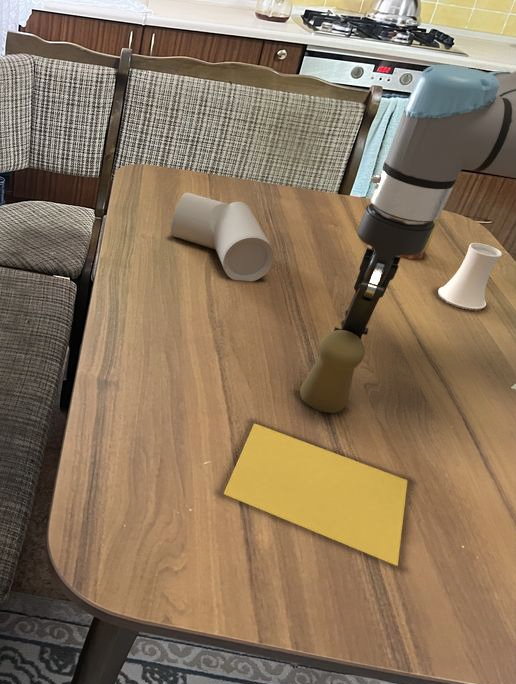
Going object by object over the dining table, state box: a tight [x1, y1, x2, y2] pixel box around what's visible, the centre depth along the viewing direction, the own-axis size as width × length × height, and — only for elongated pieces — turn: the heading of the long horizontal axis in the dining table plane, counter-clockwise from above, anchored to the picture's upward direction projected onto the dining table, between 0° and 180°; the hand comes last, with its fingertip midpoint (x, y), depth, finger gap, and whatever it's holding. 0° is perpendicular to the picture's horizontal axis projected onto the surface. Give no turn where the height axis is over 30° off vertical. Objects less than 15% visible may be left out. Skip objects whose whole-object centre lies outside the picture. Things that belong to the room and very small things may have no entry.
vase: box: [437, 242, 503, 312], centre depth 115 cm, size 8×8×10 cm
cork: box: [299, 330, 366, 414], centre depth 86 cm, size 6×6×11 cm
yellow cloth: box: [223, 422, 408, 567], centre depth 77 cm, size 18×14×1 cm
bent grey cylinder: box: [170, 192, 275, 282], centre depth 121 cm, size 18×11×20 cm
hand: (332, 373), depth 92 cm, fingers closed
